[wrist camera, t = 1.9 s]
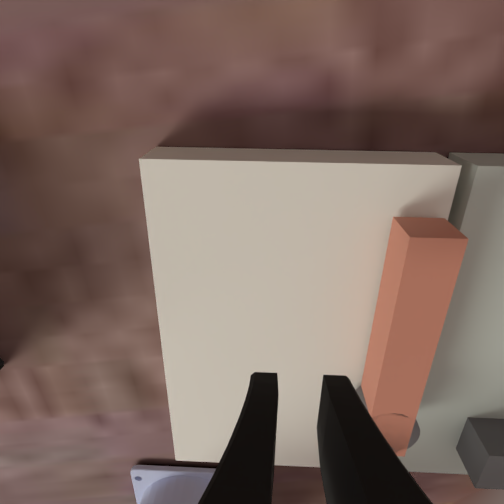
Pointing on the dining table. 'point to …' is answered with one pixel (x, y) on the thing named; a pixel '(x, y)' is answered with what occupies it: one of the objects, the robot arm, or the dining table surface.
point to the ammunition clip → (1, 363)
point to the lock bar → (409, 323)
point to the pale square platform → (320, 291)
